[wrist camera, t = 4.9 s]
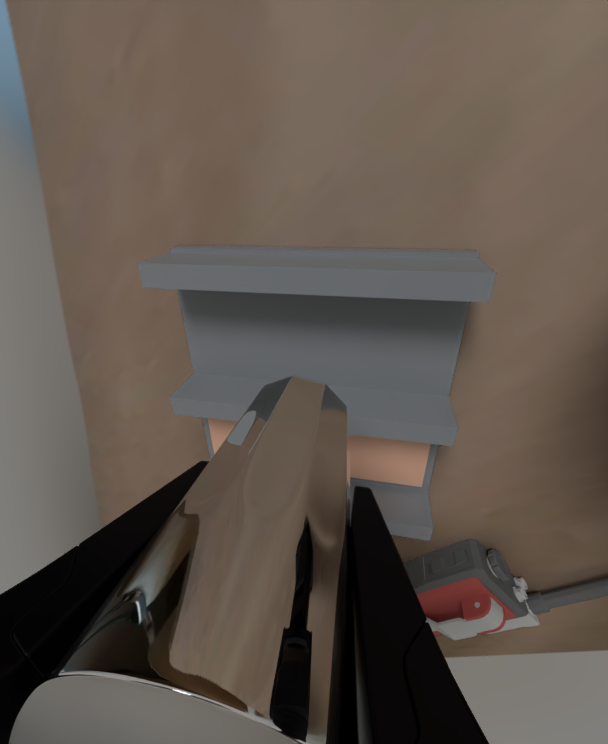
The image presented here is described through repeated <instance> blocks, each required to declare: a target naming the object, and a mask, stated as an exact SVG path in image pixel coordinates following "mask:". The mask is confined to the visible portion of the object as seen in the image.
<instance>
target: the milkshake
mask: <svg viewBox="0 0 608 744" xmlns="http://www.w3.org/2000/svg"><path fill="white" fill-rule="evenodd" d="M9 744H359V726H358V701H357V676H356V652H355V629H354V607H353V594H352V585H351V565H350V432H349V422H348V410H347V405H346V404H345V403H344V402H343V401H342V400H341V399H340V398H339V397H338V396H337V395H336V394H335V393H334V392H333V391H332V390H331V389H330V388H329V387H328V386H327V385H326V384H325V383H322V382H318V381H314V380H310V379H306V378H302V377H298V376H294V375H293V376H290V377H287V378H284V379H281V380H278V381H275V382H272V383H269V384H266V385H265V386H264V387H263V388H262V389H261V391H260V392H259V393H258V395H257V396H256V398H255V399H254V400H253V402H252V403H251V404H250V406H249V407H248V409H247V410H246V411H245V413H244V414H243V416H242V417H241V418H240V420H239V421H238V423H237V424H236V425H235V427H234V428H233V429H232V431H231V432H230V434H229V435H228V436H227V438H226V439H225V441H224V442H223V443H222V445H221V446H220V448H219V449H218V450H217V452H216V453H215V454H214V456H213V457H212V459H211V460H210V461H209V463H208V464H207V466H206V467H205V468H204V470H203V471H202V472H201V474H200V475H199V477H198V478H197V479H196V481H195V482H194V484H193V485H192V486H191V488H190V489H189V490H188V492H187V493H186V494H185V496H184V497H183V498H182V500H181V501H180V502H179V504H178V505H177V506H176V507H175V509H174V510H173V511H172V513H171V514H170V515H169V516H168V518H167V519H166V520H165V521H164V523H163V524H162V525H161V526H160V528H159V529H158V530H157V531H156V533H155V534H154V535H153V537H152V538H151V539H150V540H149V542H148V543H147V544H146V545H145V547H144V548H143V549H142V551H141V552H140V553H139V554H138V556H137V557H136V558H135V560H134V561H133V562H132V563H131V565H130V566H129V567H128V569H127V570H126V571H125V573H124V574H123V575H122V576H121V578H120V579H119V580H118V582H117V583H116V584H115V585H114V587H113V588H112V589H111V591H110V592H109V593H108V594H107V596H106V597H105V598H104V600H103V601H102V602H101V604H100V605H99V606H98V607H97V609H96V610H95V611H94V613H93V614H92V615H91V616H90V618H89V619H88V620H87V622H86V623H85V624H84V626H83V627H82V628H81V629H80V631H79V632H78V633H77V635H76V636H75V637H74V638H73V640H72V641H71V642H70V644H69V645H68V646H67V648H66V649H65V650H64V651H63V653H62V654H61V655H60V657H59V658H58V659H57V660H56V662H55V663H54V664H53V666H52V667H51V668H50V670H49V671H48V672H47V674H46V675H45V676H44V678H43V679H42V680H41V682H40V683H39V685H38V686H37V688H36V689H35V690H34V691H33V692H32V694H31V695H30V696H29V697H28V699H27V700H26V702H25V703H24V705H23V707H22V708H21V710H20V712H19V714H18V715H17V718H16V720H15V723H14V726H13V729H12V732H11V735H10V740H9Z"/></svg>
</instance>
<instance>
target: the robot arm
mask: <svg viewBox="0 0 608 744" xmlns="http://www.w3.org/2000/svg"><path fill="white" fill-rule="evenodd" d="M208 463H209V461H200V462H199V463H197V464H196V465H194V466H193V467H191V468H190V469H188V470H187V471H186V472H184V473H183V474H181V475H180V476H178V477H177V478H175V479H174V480H172V481H171V482H169V483H168V484H166V485H165V486H164V487H162V488H161V489H159V490H158V491H156V492H155V493H153V494H152V495H150V496H149V497H147V498H146V499H145V500H143V501H142V502H140V503H139V504H137V505H136V506H134V507H133V508H131V509H130V510H128V511H127V512H125V513H124V514H123V515H121V516H120V517H118V518H117V519H115V520H114V521H112V522H111V523H109V524H108V525H106V526H105V527H103V528H102V529H101V530H99V531H98V532H96V533H95V534H93V535H92V536H90V537H89V538H87V539H86V540H85V541H83V542H82V543H80V545H79V546H75V547H74V548H73V549H71V550H70V551H68V552H67V553H65V554H64V555H62V556H61V557H59V558H58V559H56V560H55V561H53V562H52V563H50V564H49V565H47V566H46V567H44V568H43V569H41V570H40V571H38V572H37V573H35V574H33V575H32V576H30V577H28V578H27V579H25V580H24V581H22V582H20V583H19V584H17V585H15V586H14V587H12V588H10V589H9V590H7V591H5V592H4V593H2V594H0V744H9V740H10V735H11V732H12V729H13V726H14V723H15V720H16V718H17V715H18V714H19V712H20V710H21V708H22V707H23V705H24V703H25V702H26V700H27V699H28V697H29V696H30V695H31V694H32V692H33V691H34V690H35V689H36V688H37V686H38V685H39V683H40V682H41V680H42V679H43V678H44V676H45V675H46V674H47V672H48V671H49V670H50V668H51V667H52V666H53V664H54V663H55V662H56V660H57V659H58V658H59V657H60V655H61V654H62V653H63V651H64V650H65V649H66V648H67V646H68V645H69V644H70V642H71V641H72V640H73V638H74V637H75V636H76V635H77V633H78V632H79V631H80V629H81V628H82V627H83V626H84V624H85V623H86V622H87V620H88V619H89V618H90V616H91V615H92V614H93V613H94V611H95V610H96V609H97V607H98V606H99V605H100V604H101V602H102V601H103V600H104V598H105V597H106V596H107V594H108V593H109V592H110V591H111V589H112V588H113V587H114V585H115V584H116V583H117V582H118V580H119V579H120V578H121V576H122V575H123V574H124V573H125V571H126V570H127V569H128V567H129V566H130V565H131V563H132V562H133V561H134V560H135V558H136V557H137V556H138V554H139V553H140V552H141V551H142V549H143V548H144V547H145V545H146V544H147V543H148V542H149V540H150V539H151V538H152V537H153V535H154V534H155V533H156V531H157V530H158V529H159V528H160V526H161V525H162V524H163V523H164V521H165V520H166V519H167V518H168V516H169V515H170V514H171V513H172V511H173V510H174V509H175V507H176V506H177V505H178V504H179V502H180V501H181V500H182V498H183V497H184V496H185V494H186V493H187V492H188V490H189V489H190V488H191V486H192V485H193V484H194V482H195V481H196V479H197V478H198V477H199V475H200V474H201V472H202V471H203V470H204V468H205V467H206V466H207V464H208ZM350 565H351V585H352V594H353V607H354V629H355V652H356V676H357V701H358V726H359V744H489V743H488V741H487V739H486V737H485V736H484V734H483V732H482V730H481V728H480V726H479V724H478V723H477V721H476V719H475V717H474V715H473V713H472V711H471V710H470V708H469V706H468V704H467V702H466V700H465V698H464V696H463V694H462V692H461V690H460V689H459V687H458V685H457V683H456V681H455V679H454V677H453V675H452V673H451V671H450V669H449V667H448V664H447V662H446V660H445V658H444V656H443V654H442V651H441V649H440V647H439V645H438V643H437V640H436V638H435V636H434V633H433V631H432V629H431V626H430V624H429V623H428V622H426V621H427V618H426V615H425V613H424V611H423V608H422V606H421V604H420V601H419V599H418V597H417V594H416V592H415V590H414V587H413V585H412V583H411V580H410V578H409V576H408V573H407V571H406V569H405V567H404V564H403V562H402V560H401V557H400V555H399V553H398V550H397V548H396V546H395V543H394V541H393V539H392V536H391V534H390V532H389V529H388V527H387V525H386V522H385V520H384V518H383V515H382V513H381V511H380V508H379V506H378V504H377V502H376V499H375V497H374V495H373V492H372V490H371V489H370V488H369V487H364V486H358V485H357V486H355V487H354V493H353V501H352V509H351V519H350Z"/></svg>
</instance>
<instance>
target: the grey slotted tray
mask: <svg viewBox="0 0 608 744" xmlns="http://www.w3.org/2000/svg"><path fill="white" fill-rule="evenodd" d="M169 249H170V252H168V253H165V254H163V255H160V256H157V257H154V258H151V259H148V260H145V261H142V262H139V263H137V265H138V269H139V273H140V278H141V282H142V286H143V288H158V289H178V295H179V300H180V305H181V310H182V315H183V320H184V325H185V330H186V335H187V341H188V346H189V351H190V356H191V361H192V366H193V371H194V373H193V374H192V375H191V376H190V377H189V378H188V379H187V380H186V381H185V382H184V383H183V384H182V385H181V387H180V388H179V389H178V390H177V391H176V392H175V393H174V394H173V395H172V396H171V397H170V401H171V405H172V409H173V413H174V414H178V415H186V416H195V417H203V422H204V427H205V433H206V438H207V443H208V448H209V453H210V458H211V459H212V457H213V456H214V454H215V453H216V452H217V450H218V449H219V448H220V446H221V445H222V443H223V442H224V441H225V439H226V438H227V436H228V435H229V434H230V432H231V431H232V429H233V428H234V427H235V425H236V424H237V423H238V421H239V420H240V418H241V417H242V416H243V414H244V413H245V411H246V410H247V409H248V407H249V406H250V404H251V403H252V402H253V400H254V399H255V398H256V396H257V395H258V393H259V392H260V391H261V389H262V388H263V387H264V386H265V385H266V384H269V383H272V382H275V381H278V380H281V379H284V378H287V377H290V376H293V375H294V376H298V377H302V378H306V379H310V380H314V381H318V382H322V383H325V384H326V385H327V386H328V387H329V388H330V389H331V390H332V391H333V392H334V393H335V394H336V395H337V396H338V397H339V398H340V399H341V400H342V401H343V402H344V403H345V404H346V405H347V410H348V422H349V432H350V519H351V509H352V501H353V493H354V487H355V486H357V485H358V486H364V487H369V488H370V489H371V490H372V492H373V495H374V497H375V499H376V502H377V504H378V506H379V508H380V511H381V513H382V515H383V518H384V520H385V522H386V525H387V527H388V529H389V532H390V534H391V535H396V536H402V537H408V538H414V539H420V540H426V541H430V540H431V536H432V532H433V523H432V515H431V508H430V501H429V493H428V489H429V485H430V480H431V476H432V471H433V466H434V462H435V457H436V453H437V448H438V445H445V446H454V443H455V439H456V435H457V431H458V426H457V422H456V419H455V415H454V412H453V409H452V405H451V402H450V398H449V393H450V389H451V384H452V380H453V375H454V371H455V366H456V361H457V357H458V352H459V348H460V343H461V339H462V334H463V329H464V325H465V320H466V316H467V311H468V307H469V302H488V303H489V301H490V297H491V293H492V289H493V285H494V281H495V277H496V272H495V271H493V270H492V269H491V268H490V267H489V266H488V265H486V264H485V263H484V262H483V261H482V260H481V259H479V256H480V253H478V252H477V251H476V250H442V249H381V248H320V247H260V246H199V245H178V246H175V247H171V248H169Z"/></svg>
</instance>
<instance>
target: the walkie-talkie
mask: <svg viewBox="0 0 608 744" xmlns="http://www.w3.org/2000/svg"><path fill="white" fill-rule="evenodd" d="M403 564H404V567H405V569H406V571H407V573H408V576H409V578H410V580H411V583H412V585H413V587H414V590H415V592H416V594H417V597H418V599H419V601H420V604H421V606H422V608H423V611H424V613H425V615H426V618H427V621H426V622H428V623H429V624H430V626H431V629H432V631H433V633H434V636H439V635H443V634H444V635H446V636H448V637H449V638H451V639H453V640H459V639H463V638H468V637H473V636H477V634H476V633H481V634H492V633H496V632H501V631H506V630H510V629H515V628H520V627H524V626H526V627H532V626H537V625H539V620H538V617H537V615H536V614H541V613H545V612H549V611H550V609H551V608H555V607H560V606H564V605H568V604H573V603H577V602H582V601H586V600H591V599H595V598H600V597H604V596H608V577H605V578H601V579H597V580H593V581H589V582H585V583H581V584H577V585H573V586H569V587H565V588H561V589H557V590H553V591H549V592H545V593H540V592H536V593H532V594H528V595H527V594H526V592H525V590H526V589H528V586H527V584H526V582H525V580H524V579H523V578H522V577H520V578H517V577H515V578H514V577H513V576H512V575H511V574H510V571H509V568H508V566H507V564H506V562H505V560H504V558H503V557H502V555H501V554H500V553H499V552H498V551H497V550H495V549H491V550H489V551H487V550H486V549H485V548H484V547H483V546H482V545H481V544H480V543H479V542H478V541H477V540H473V539H468V540H465V541H462V542H459V543H456V544H454V545H451V546H448V547H445V548H443V549H440V550H437V551H434V552H431V553H429V554H426V555H423V556H421V557H420V558H416V559H414V560H410V561H409V562H405V563H403Z"/></svg>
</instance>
